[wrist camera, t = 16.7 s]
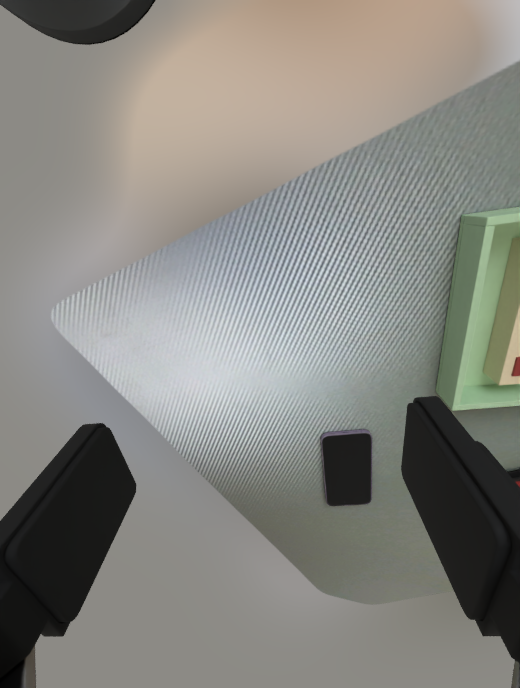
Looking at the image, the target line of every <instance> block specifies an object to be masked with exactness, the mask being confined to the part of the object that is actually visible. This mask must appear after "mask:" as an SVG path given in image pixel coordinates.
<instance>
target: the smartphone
mask: <svg viewBox="0 0 520 688" xmlns="http://www.w3.org/2000/svg"><path fill="white" fill-rule="evenodd" d="M321 448H322V460H323V472H324V486H325V496H326V502H327V504H328V505H329V506H346V505H363V504H368V503H370V502H371V500H372V436H371V433H370V432H369V431H368V430H365V429H361V430H349V431H337V432H327V433H324V434H323V435H322V436H321Z"/></svg>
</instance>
